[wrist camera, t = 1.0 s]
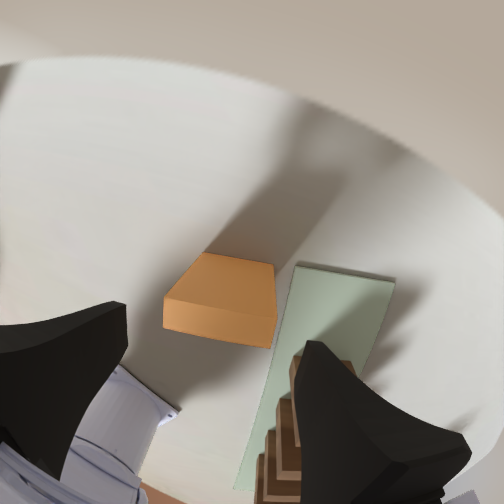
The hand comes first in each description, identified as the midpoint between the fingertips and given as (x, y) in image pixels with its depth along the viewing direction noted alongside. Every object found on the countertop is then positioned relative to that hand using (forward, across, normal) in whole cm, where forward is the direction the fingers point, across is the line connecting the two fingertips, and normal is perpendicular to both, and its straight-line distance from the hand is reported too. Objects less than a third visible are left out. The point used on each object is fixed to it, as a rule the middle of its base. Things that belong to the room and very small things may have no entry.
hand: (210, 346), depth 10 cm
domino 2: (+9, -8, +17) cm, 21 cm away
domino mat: (+10, -8, +16) cm, 20 cm away
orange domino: (+10, 0, 0) cm, 10 cm away
